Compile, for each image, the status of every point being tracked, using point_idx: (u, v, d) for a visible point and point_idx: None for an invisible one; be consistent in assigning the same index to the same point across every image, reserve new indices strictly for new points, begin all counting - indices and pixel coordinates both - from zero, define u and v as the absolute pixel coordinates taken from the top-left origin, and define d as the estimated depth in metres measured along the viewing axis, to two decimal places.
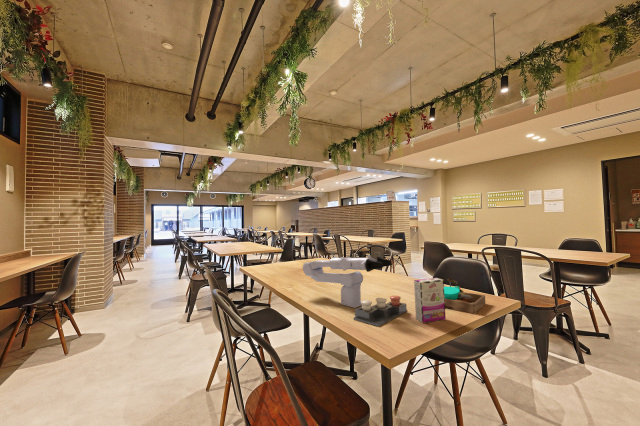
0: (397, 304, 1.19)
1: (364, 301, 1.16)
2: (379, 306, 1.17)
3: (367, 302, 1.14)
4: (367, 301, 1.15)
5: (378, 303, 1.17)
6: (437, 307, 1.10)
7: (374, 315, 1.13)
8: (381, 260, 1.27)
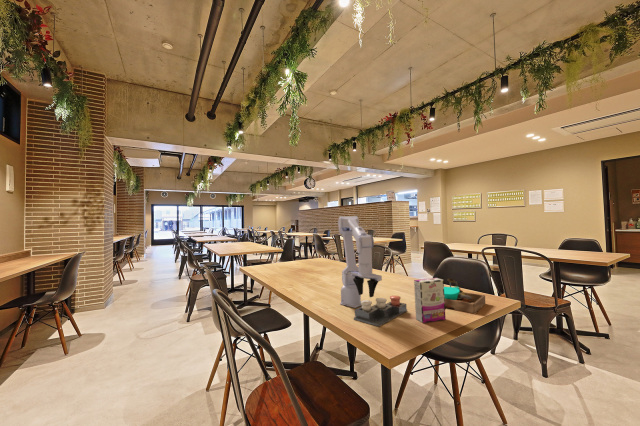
0: (397, 304, 1.19)
1: (364, 301, 1.16)
2: (379, 306, 1.17)
3: (367, 302, 1.14)
4: (367, 301, 1.15)
5: (378, 303, 1.17)
6: (437, 307, 1.10)
7: (374, 315, 1.13)
8: None
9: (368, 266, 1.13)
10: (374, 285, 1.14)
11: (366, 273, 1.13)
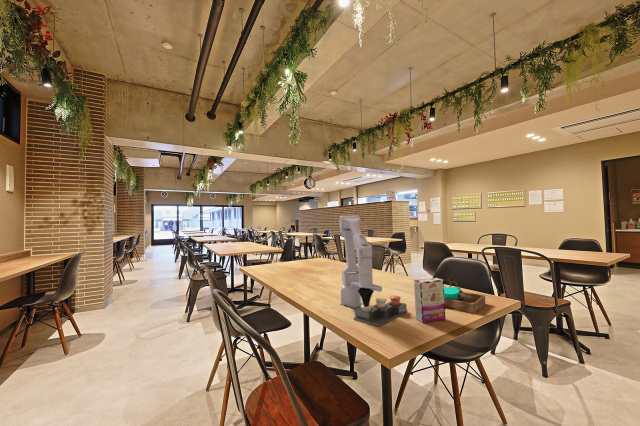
0: (397, 304, 1.19)
1: None
2: (379, 306, 1.17)
3: (367, 306, 1.14)
4: None
5: (378, 303, 1.17)
6: (437, 307, 1.10)
7: (374, 315, 1.13)
8: None
9: (368, 277, 1.13)
10: (369, 295, 1.15)
11: (366, 284, 1.12)
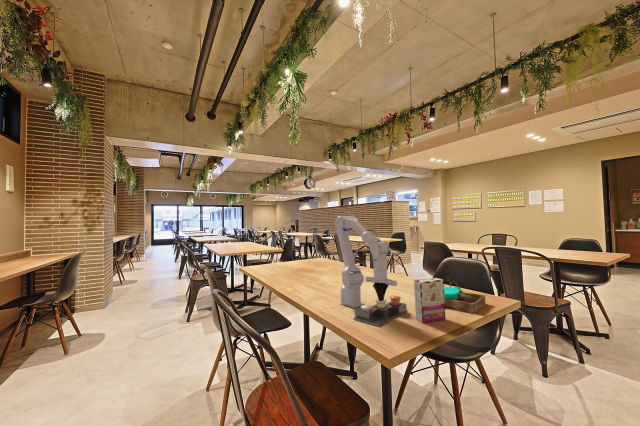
0: (397, 304, 1.19)
1: (364, 306, 1.16)
2: (379, 307, 1.17)
3: (367, 307, 1.14)
4: (367, 306, 1.15)
5: (378, 304, 1.17)
6: (437, 307, 1.10)
7: (374, 315, 1.13)
8: None
9: (383, 272, 1.16)
10: (384, 289, 1.18)
11: (381, 278, 1.16)
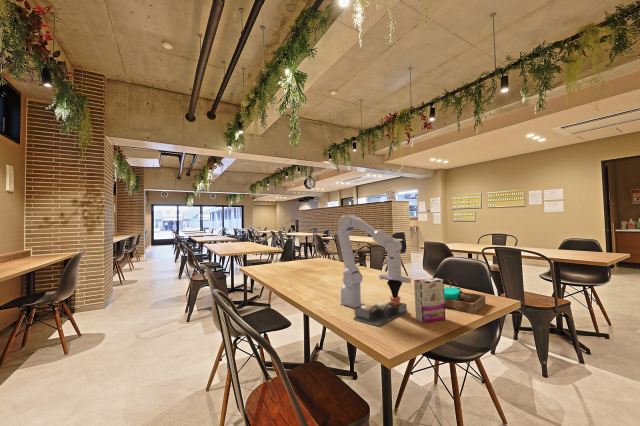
0: (397, 304, 1.19)
1: (364, 306, 1.16)
2: None
3: (367, 307, 1.14)
4: (367, 306, 1.15)
5: None
6: (437, 307, 1.10)
7: (374, 315, 1.13)
8: None
9: (398, 269, 1.19)
10: (398, 286, 1.21)
11: (396, 276, 1.19)
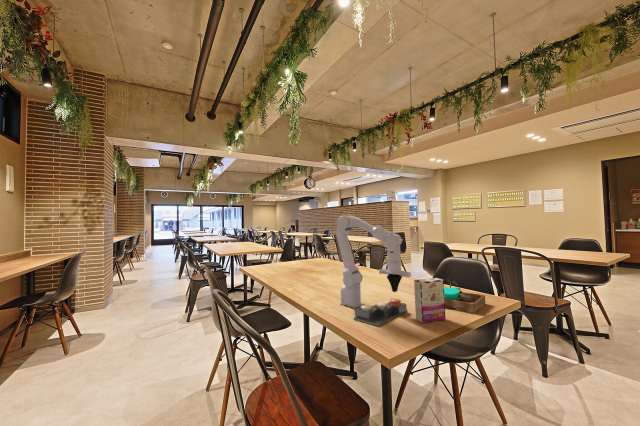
0: None
1: (364, 306, 1.16)
2: None
3: (367, 307, 1.14)
4: (367, 306, 1.15)
5: None
6: (437, 307, 1.10)
7: (374, 315, 1.13)
8: None
9: (397, 263, 1.19)
10: (398, 281, 1.21)
11: (395, 270, 1.19)
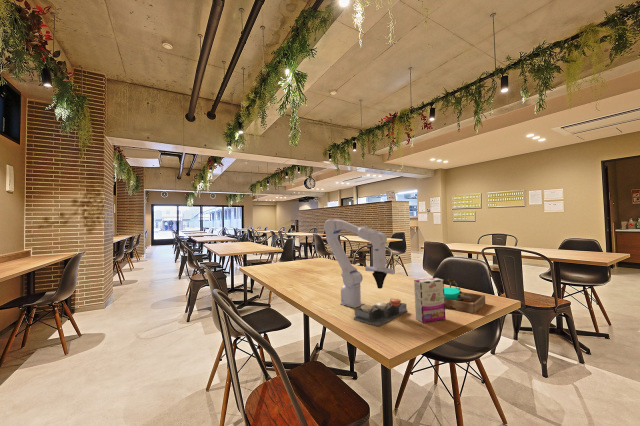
0: None
1: (364, 306, 1.16)
2: None
3: (367, 307, 1.14)
4: (367, 306, 1.15)
5: None
6: (437, 307, 1.10)
7: (374, 315, 1.13)
8: None
9: (382, 261, 1.23)
10: (383, 277, 1.25)
11: (380, 267, 1.23)
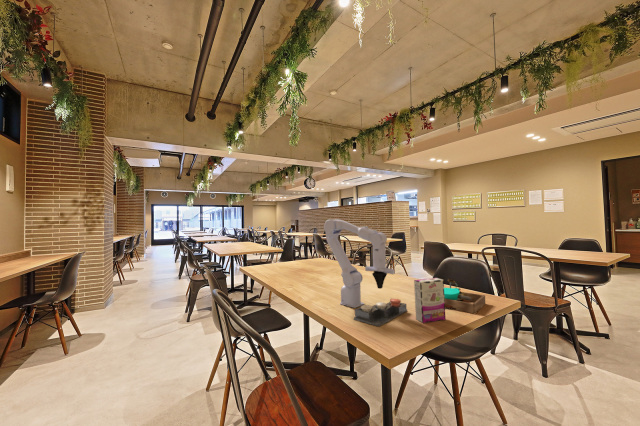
0: None
1: (364, 306, 1.16)
2: None
3: (367, 307, 1.14)
4: (367, 306, 1.15)
5: None
6: (437, 307, 1.10)
7: (374, 315, 1.13)
8: None
9: (382, 261, 1.23)
10: (383, 277, 1.25)
11: (380, 267, 1.23)
